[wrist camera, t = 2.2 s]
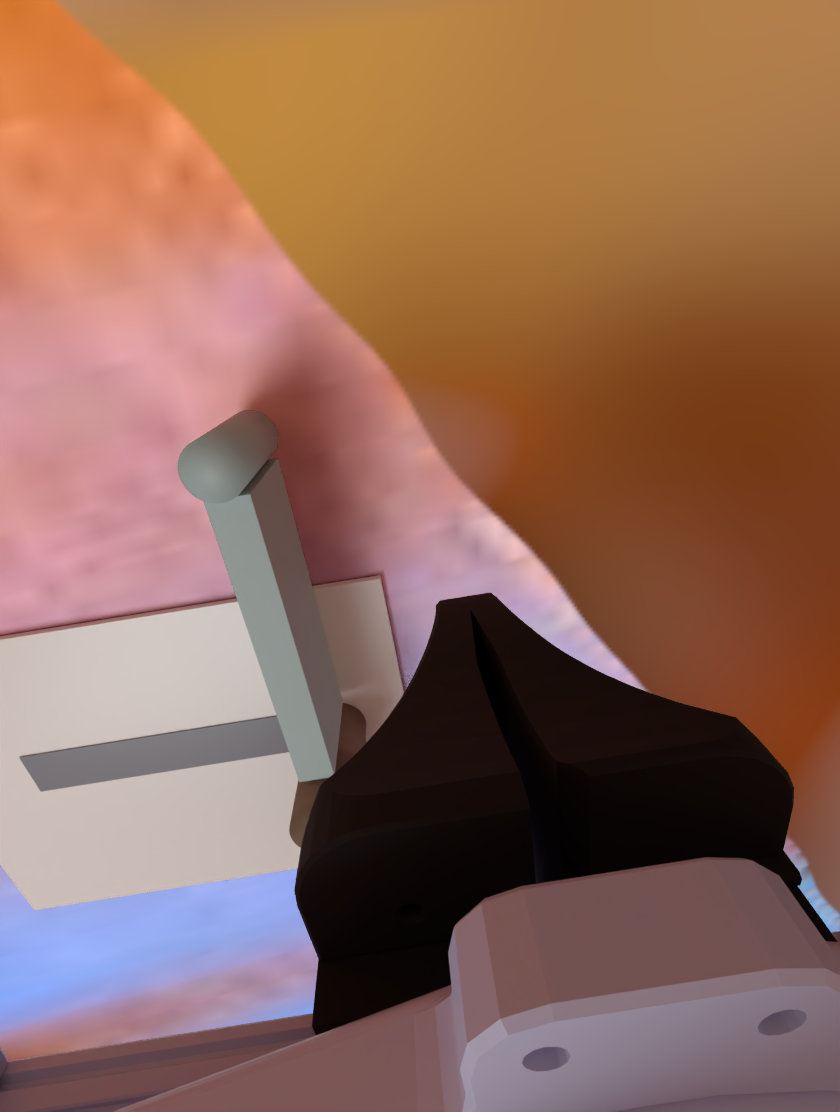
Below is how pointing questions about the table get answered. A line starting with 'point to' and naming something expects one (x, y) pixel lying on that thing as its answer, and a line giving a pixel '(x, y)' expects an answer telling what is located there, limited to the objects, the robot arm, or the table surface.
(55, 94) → the table surface
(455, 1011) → the robot arm
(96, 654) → the card
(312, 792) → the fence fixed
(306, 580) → the fence panel
